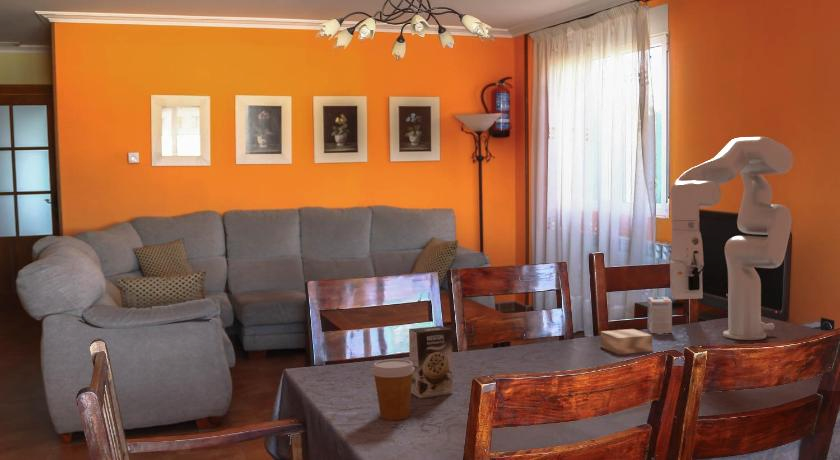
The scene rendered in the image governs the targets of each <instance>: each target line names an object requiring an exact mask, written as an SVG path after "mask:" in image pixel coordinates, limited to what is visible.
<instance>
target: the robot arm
mask: <svg viewBox="0 0 840 460" xmlns="http://www.w3.org/2000/svg"><path fill="white" fill-rule="evenodd" d="M793 164H794V157H793V154H792V151H791V150H790V149H789V147H787V146H786V145H784V144H782V143H780V142H778V141H776V140H775V139H772V138H770V137H767V136H745V137H744V136H742V137H736V138H734V139H731V140H730V141H729V142H727V143H726V144H725V146H723V148H721V150H720V151H719V152H718V153H716V155H715V156H713V158H711V159H710V160H707V161H705V162H703V163H700V164H699V165H697V166H693V167H691V168H690V169H688V170H686V171H684V172H683V173H682V174H681V175H680V176H679V177H678V178H677V179H675V181H674V183H673V184H672V186H671V188H670V192H669V197H670V202H671V203H670V204H671V205H670V206H671V207H670V209H671V232H672V233H671V241H670V256H669V258H668V261H669V262H670V261H678V262H682V263H684V266H686V267H688V271H689V274H690V276H688V289H689V290H690V291H691V290H699V289H700V282H699V276H700V275H701V271H702V272H703V268H704V266H705V262H704V250H703V249H704V248H703V247H704V246H703V238H702V233H701V231H700V208H710V207H714V206H716V205H717V204H718V203H719V202H720V201H721V199H722V189H721V187H720V185H724V184H726V183H729V182H731V181H732V180H734V179H736V176H737V175H739V176H740V178H741V181H742V185H743V194H742V198H741V202H740V207H739V211H738V213H737V214H738V216H737V220H736V224H737V229H738V230H739V231H740V232H741V233H744V234H748V235H735V236H732V237H731V238H729V239H728V240H727V241H726V243H725V246H724V256H725V261H726V266H727V283H728V284H727V288H728V289H727V291H728V293H727V295H728V296H727V301H728V302H727V303H728V305H727V306H728V307H727V310H728V312H727V315H728V316H727V317H728V318H727V320H728V322H727V323H728V325H727V327H728V329H727V330H724V331H723V332H722V335H723V337H724V338H727V339H731V340H737V341H738V340H739V341H740V340H741V341H756V340H757V341H758V340H763V339H766V338H767V333H766V332H765V331H766V330H774V329H775V324H774V323H773V322H770V323H769V322H767V323H765V322H763V321H762V305H761V304H762V296H761V295H762V283H761V278H760V275H759V273H758V271H756V269H755V268H762V269H775V268H776V269H777V268H778V267H780V266H781V265H782V264H783V262H784V259H785V257H786V252H787V247H788V243H789V238H790V233H791V229H792V225H793V224H792V223H793V219H792V213H791V210H790V209H789V207H787V205H784V204H779V203H772V199H773V189H772V186H771V185H770V183H769V182H768V180H767V179H766V178H765V177H764V175H784V174H786V173H788V172H789V171H790V170H792V169H791V168H792V167H793ZM751 234H752V235H751ZM754 235H755V236H754ZM756 235H761V236H756ZM762 235H764V236H762ZM765 235H767V236H765ZM692 263H696V265H692ZM692 268H694V270H692Z"/></svg>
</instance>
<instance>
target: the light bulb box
mask: <svg viewBox="0 0 840 460" xmlns="http://www.w3.org/2000/svg"><path fill="white" fill-rule="evenodd" d="M647 330H648V331H649V332H651V333H672V334H673V301H672V299H670V298H669V296H647ZM651 333H650V334H651Z"/></svg>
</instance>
